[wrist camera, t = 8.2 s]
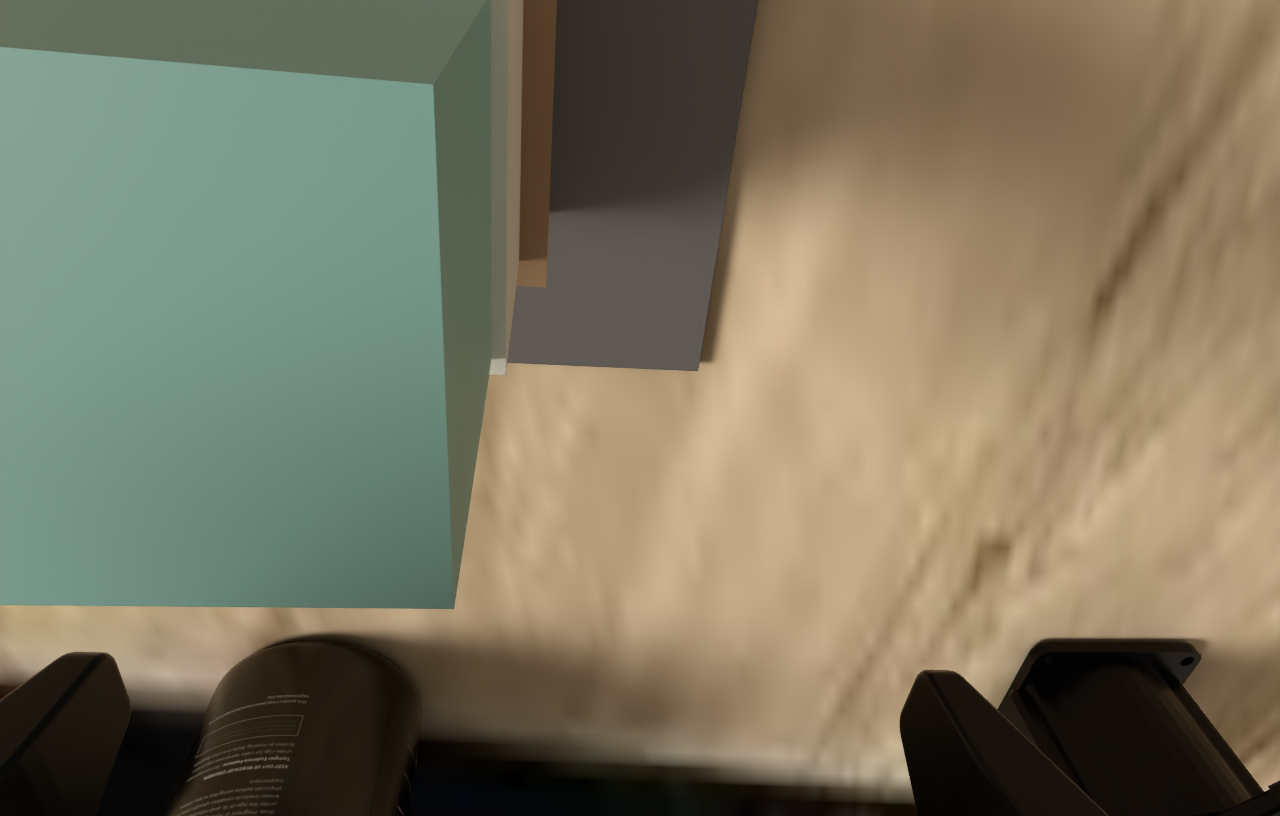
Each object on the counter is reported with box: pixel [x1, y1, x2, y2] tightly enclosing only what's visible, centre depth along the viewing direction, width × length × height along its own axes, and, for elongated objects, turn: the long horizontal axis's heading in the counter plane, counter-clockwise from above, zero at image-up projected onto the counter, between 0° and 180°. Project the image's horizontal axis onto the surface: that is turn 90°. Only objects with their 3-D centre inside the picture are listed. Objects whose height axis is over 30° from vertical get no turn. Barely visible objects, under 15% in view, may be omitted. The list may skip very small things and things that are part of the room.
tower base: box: [516, 0, 557, 288], centre depth 14 cm, size 6×6×4 cm
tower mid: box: [489, 0, 523, 375], centre depth 11 cm, size 5×5×4 cm
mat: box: [507, 0, 758, 371], centre depth 16 cm, size 14×14×1 cm
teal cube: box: [0, 0, 491, 609], centre depth 8 cm, size 4×4×4 cm
